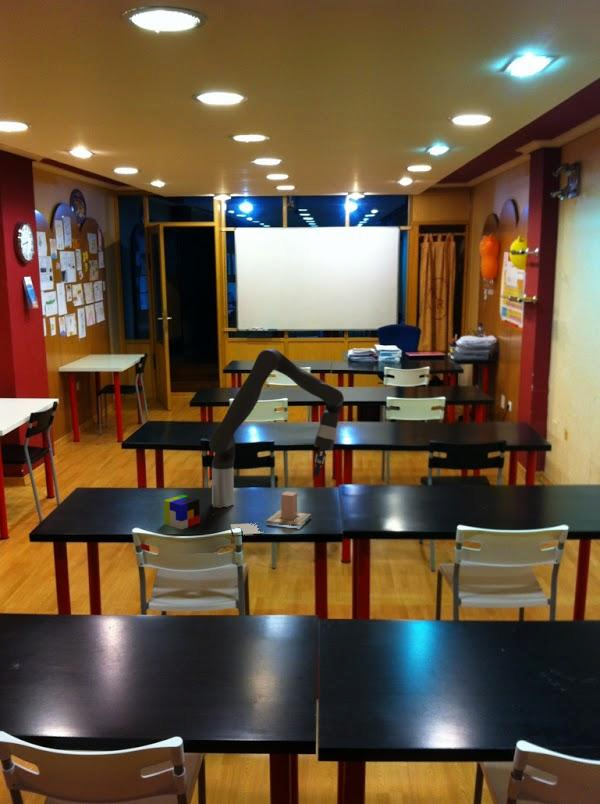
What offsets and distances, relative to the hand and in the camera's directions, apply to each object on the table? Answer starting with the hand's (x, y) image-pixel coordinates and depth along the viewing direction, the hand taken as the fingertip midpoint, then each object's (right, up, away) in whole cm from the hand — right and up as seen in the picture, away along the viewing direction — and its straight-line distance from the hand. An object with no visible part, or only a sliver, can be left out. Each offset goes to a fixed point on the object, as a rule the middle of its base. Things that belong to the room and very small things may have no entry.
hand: (315, 475), depth 289 cm
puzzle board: (-11, -19, +1) cm, 22 cm away
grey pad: (-27, -20, -9) cm, 35 cm away
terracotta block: (-11, -19, +1) cm, 22 cm away
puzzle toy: (-54, -19, -2) cm, 58 cm away
